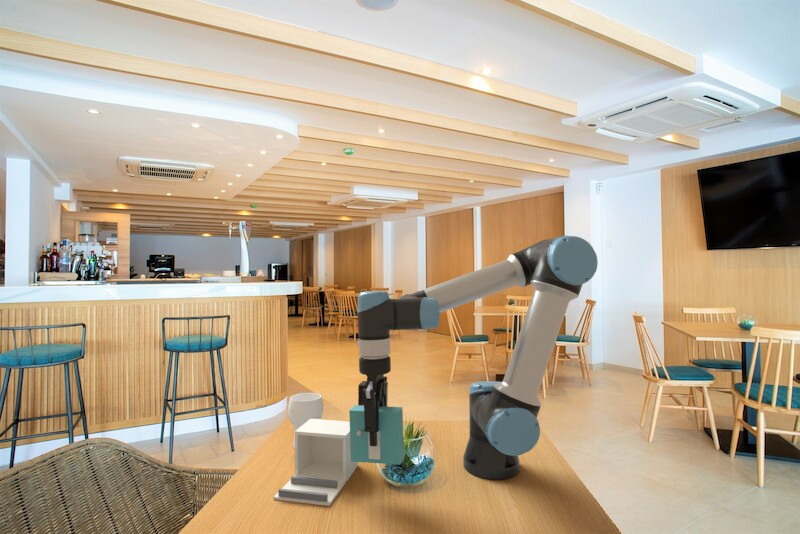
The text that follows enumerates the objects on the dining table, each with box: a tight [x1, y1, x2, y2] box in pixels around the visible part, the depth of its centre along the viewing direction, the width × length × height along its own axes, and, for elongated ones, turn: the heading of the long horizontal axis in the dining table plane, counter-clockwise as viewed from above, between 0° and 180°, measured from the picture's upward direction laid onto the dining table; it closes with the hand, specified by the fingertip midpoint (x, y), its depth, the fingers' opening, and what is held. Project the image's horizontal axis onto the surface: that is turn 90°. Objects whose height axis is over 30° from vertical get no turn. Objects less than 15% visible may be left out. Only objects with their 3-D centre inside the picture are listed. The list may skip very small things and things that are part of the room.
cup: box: [287, 392, 324, 450], centre depth 133 cm, size 11×11×15 cm
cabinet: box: [273, 418, 359, 507], centre depth 110 cm, size 14×21×12 cm, turn 168°
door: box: [348, 404, 405, 466], centre depth 102 cm, size 12×5×12 cm, turn 78°
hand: (377, 454), depth 102 cm, fingers closed on door, 4 cm apart
